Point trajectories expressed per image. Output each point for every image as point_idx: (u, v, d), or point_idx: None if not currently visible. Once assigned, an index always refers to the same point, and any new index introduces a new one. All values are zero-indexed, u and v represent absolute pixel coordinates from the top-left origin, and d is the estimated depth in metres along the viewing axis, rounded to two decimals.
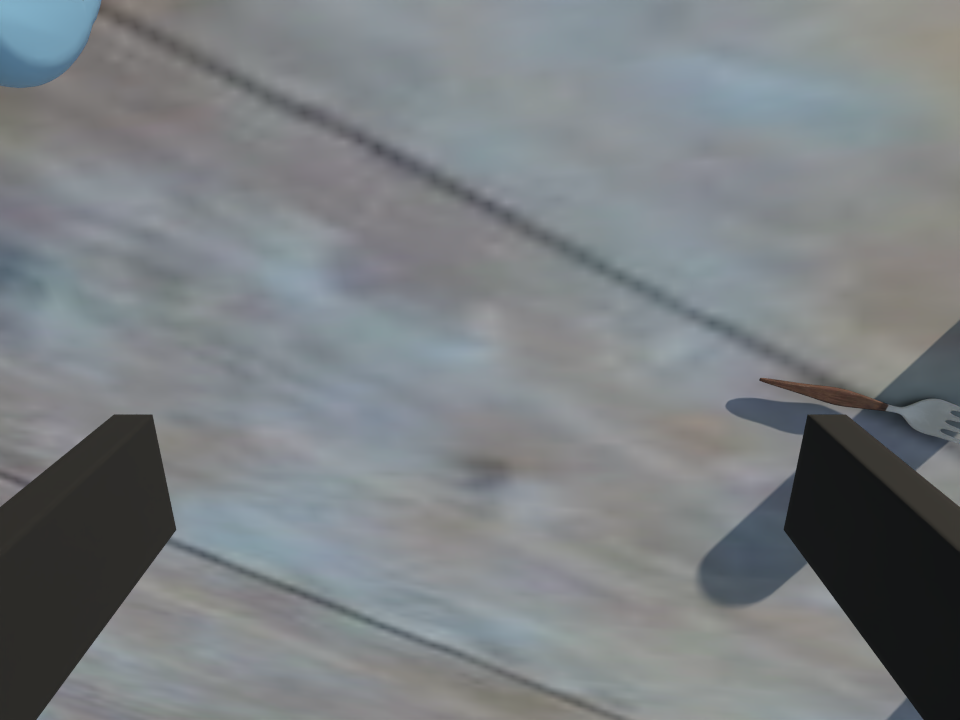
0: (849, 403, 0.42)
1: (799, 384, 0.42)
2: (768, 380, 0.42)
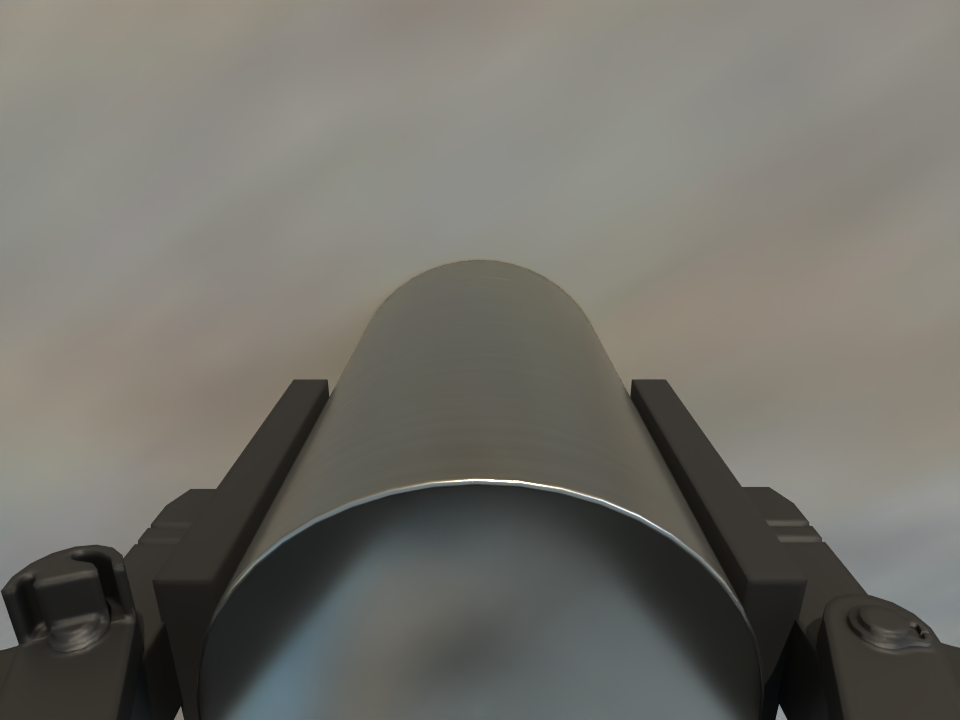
0: None
1: None
2: None
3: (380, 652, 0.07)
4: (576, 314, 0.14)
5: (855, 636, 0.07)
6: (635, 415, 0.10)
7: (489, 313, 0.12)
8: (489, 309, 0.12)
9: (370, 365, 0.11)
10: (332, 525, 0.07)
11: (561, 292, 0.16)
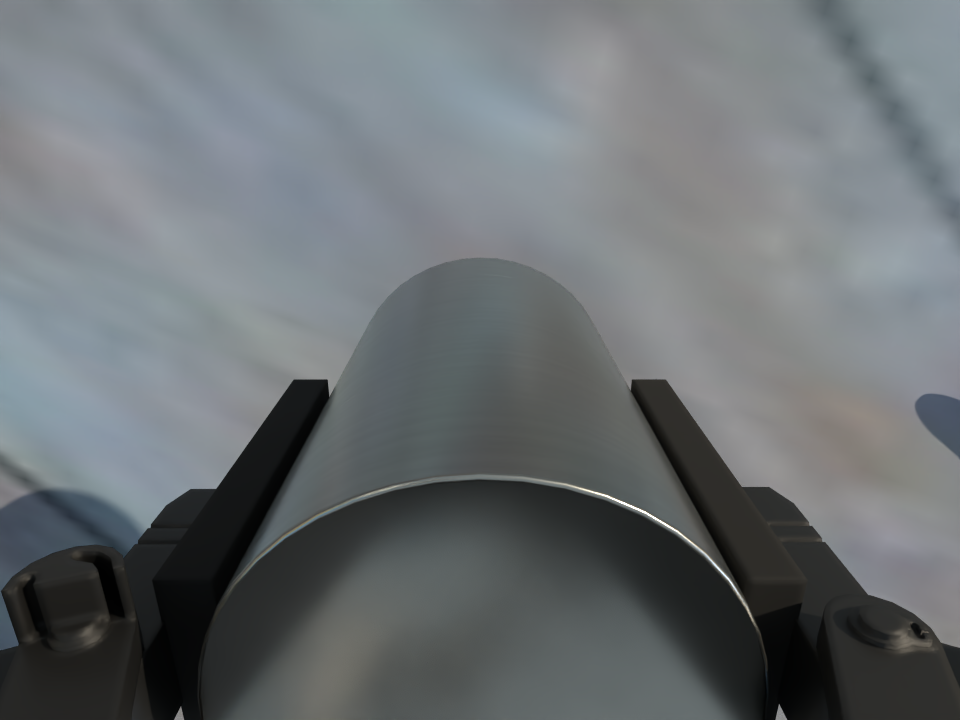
0: None
1: None
2: None
3: (384, 649, 0.07)
4: (578, 312, 0.14)
5: (855, 636, 0.07)
6: (638, 412, 0.10)
7: (491, 310, 0.12)
8: (491, 306, 0.12)
9: (372, 362, 0.11)
10: (335, 520, 0.06)
11: (563, 290, 0.16)
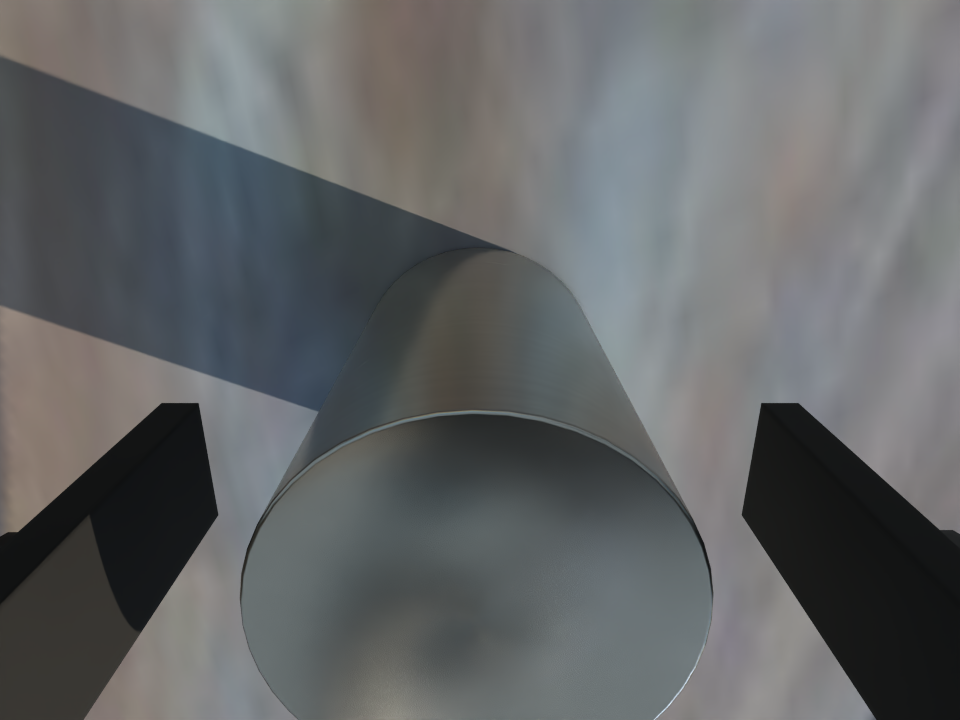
0: None
1: None
2: None
3: (394, 559, 0.09)
4: (565, 295, 0.16)
5: None
6: (613, 377, 0.12)
7: (486, 290, 0.13)
8: (486, 287, 0.13)
9: (381, 334, 0.12)
10: (355, 448, 0.08)
11: (552, 276, 0.17)
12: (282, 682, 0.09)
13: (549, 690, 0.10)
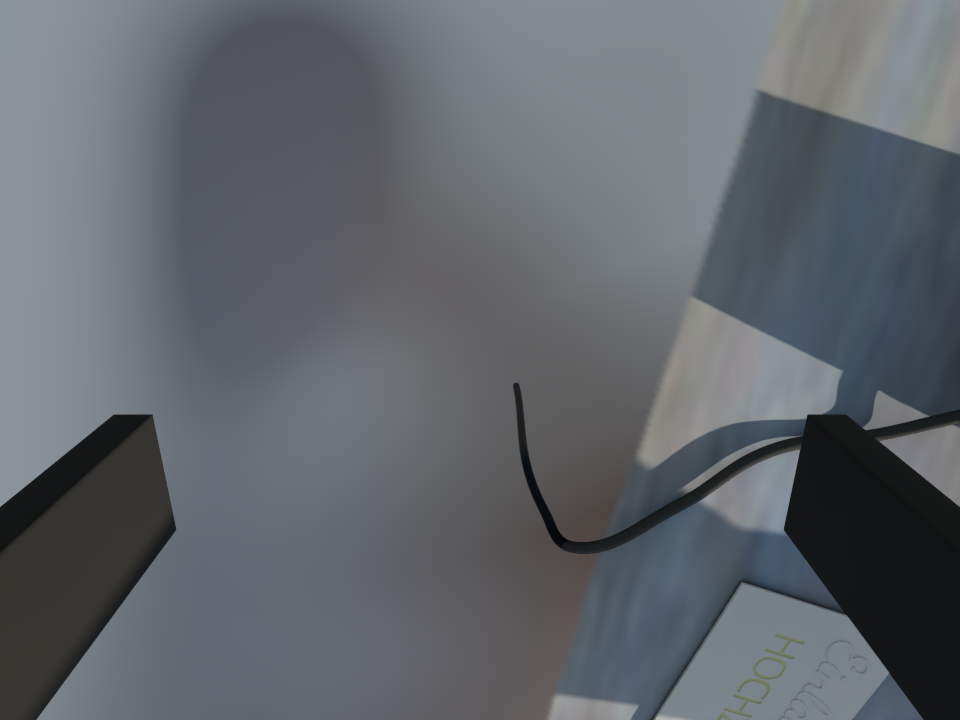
0: None
1: None
2: None
3: None
4: None
5: None
6: None
7: None
8: None
9: None
10: None
11: None
12: None
13: None
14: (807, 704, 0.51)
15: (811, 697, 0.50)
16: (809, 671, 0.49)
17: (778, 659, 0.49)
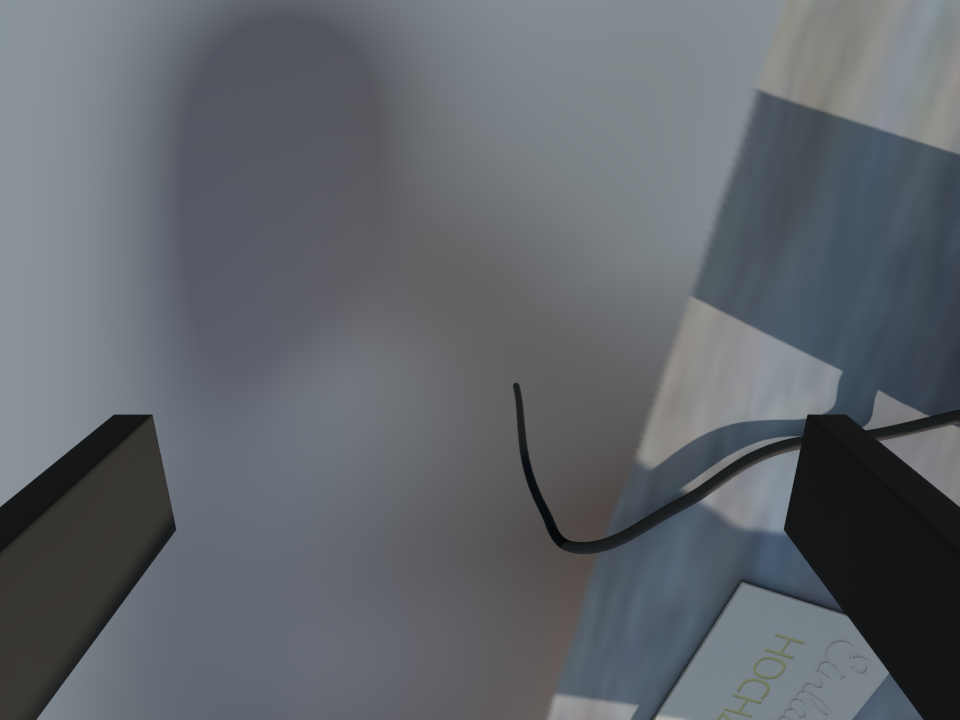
0: None
1: None
2: None
3: None
4: None
5: None
6: None
7: None
8: None
9: None
10: None
11: None
12: None
13: None
14: (807, 704, 0.51)
15: (811, 697, 0.50)
16: (809, 671, 0.49)
17: (778, 659, 0.49)
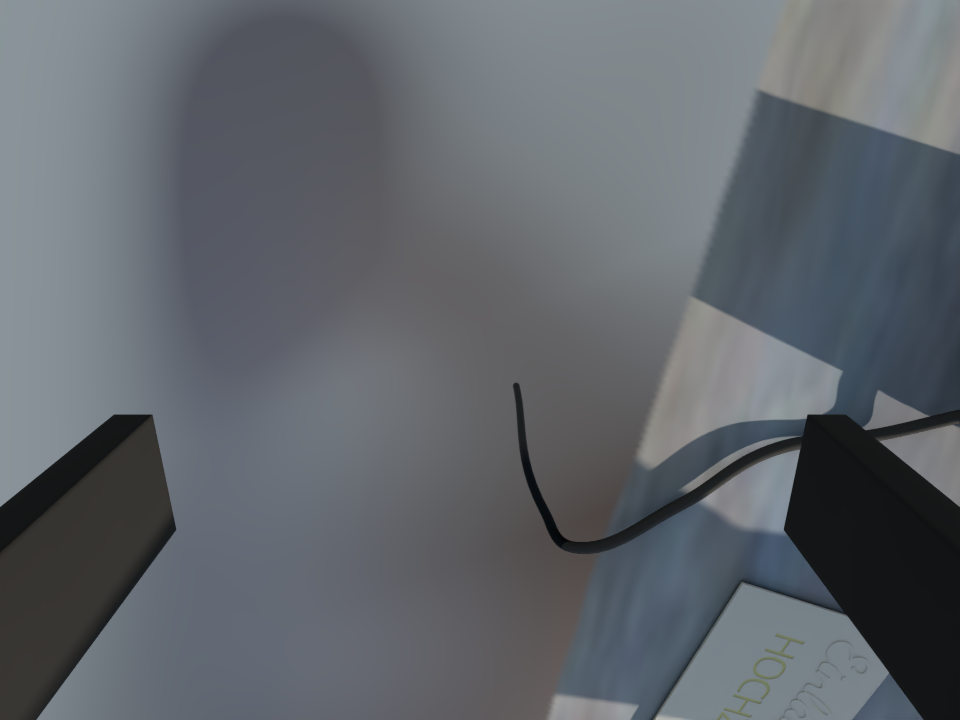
0: None
1: None
2: None
3: None
4: None
5: None
6: None
7: None
8: None
9: None
10: None
11: None
12: None
13: None
14: (807, 704, 0.51)
15: (811, 697, 0.50)
16: (809, 671, 0.49)
17: (778, 659, 0.49)
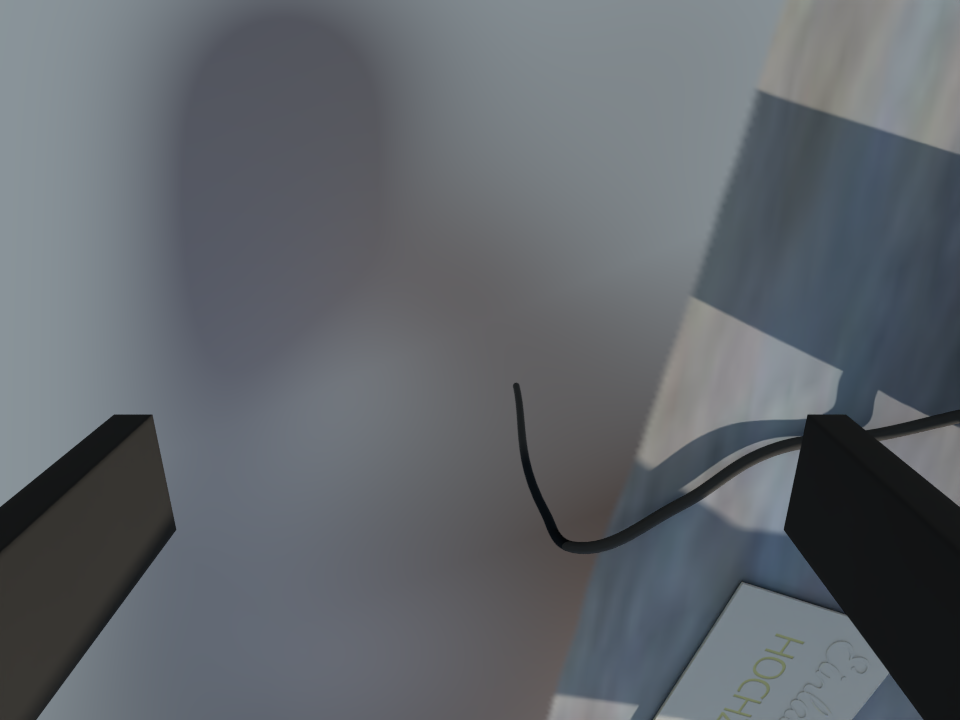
0: None
1: None
2: None
3: None
4: None
5: None
6: None
7: None
8: None
9: None
10: None
11: None
12: None
13: None
14: (807, 704, 0.51)
15: (811, 697, 0.50)
16: (809, 671, 0.49)
17: (778, 659, 0.49)
